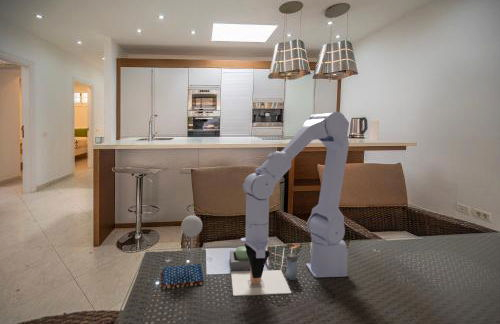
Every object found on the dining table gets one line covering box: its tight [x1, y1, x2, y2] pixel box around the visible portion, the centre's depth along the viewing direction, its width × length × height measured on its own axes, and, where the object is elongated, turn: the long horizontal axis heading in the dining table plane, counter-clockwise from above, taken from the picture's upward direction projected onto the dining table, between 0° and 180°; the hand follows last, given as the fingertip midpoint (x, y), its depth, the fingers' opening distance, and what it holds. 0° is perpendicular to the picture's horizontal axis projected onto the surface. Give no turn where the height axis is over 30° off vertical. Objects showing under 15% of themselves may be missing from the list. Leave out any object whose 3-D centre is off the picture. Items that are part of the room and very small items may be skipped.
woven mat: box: [160, 263, 205, 290], centre depth 78 cm, size 10×11×2 cm
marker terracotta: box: [249, 268, 261, 284], centre depth 75 cm, size 3×3×7 cm
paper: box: [230, 269, 292, 297], centre depth 76 cm, size 14×12×1 cm
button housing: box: [229, 250, 250, 272], centre depth 87 cm, size 8×8×2 cm
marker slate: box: [285, 253, 298, 281], centre depth 79 cm, size 3×3×6 cm
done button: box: [235, 245, 249, 261], centre depth 87 cm, size 5×5×3 cm
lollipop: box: [180, 214, 204, 265], centre depth 84 cm, size 6×6×15 cm
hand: (256, 274), depth 75 cm, fingers closed on marker terracotta, 3 cm apart
